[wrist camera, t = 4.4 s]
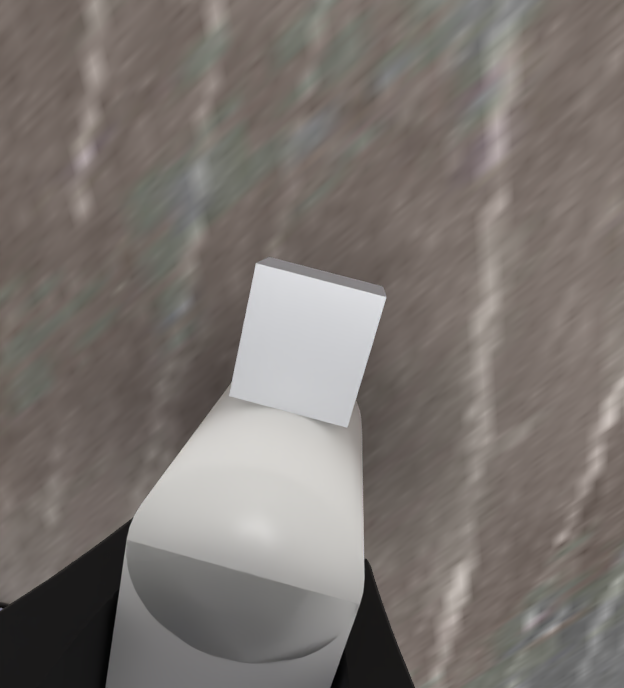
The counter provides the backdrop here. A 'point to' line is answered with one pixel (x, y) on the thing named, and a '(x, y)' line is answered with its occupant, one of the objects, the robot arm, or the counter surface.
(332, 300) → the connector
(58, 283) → the counter surface
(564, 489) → the counter surface
